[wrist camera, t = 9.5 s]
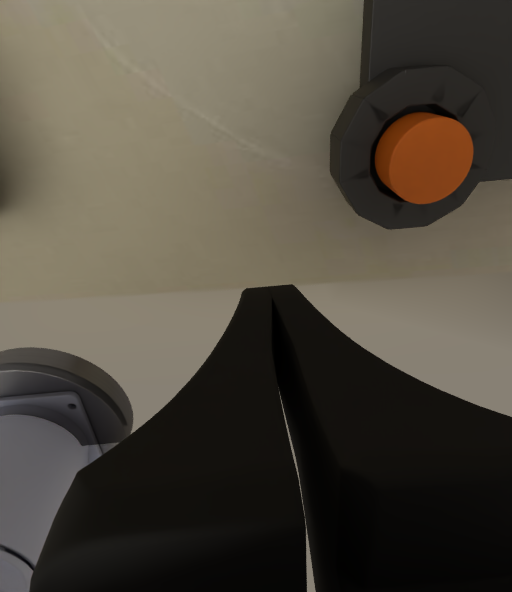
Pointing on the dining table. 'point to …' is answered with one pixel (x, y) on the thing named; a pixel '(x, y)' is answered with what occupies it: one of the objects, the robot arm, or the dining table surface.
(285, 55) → the dining table surface
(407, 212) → the button block
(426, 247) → the dining table surface
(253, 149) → the dining table surface
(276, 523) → the robot arm
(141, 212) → the dining table surface
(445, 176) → the button
